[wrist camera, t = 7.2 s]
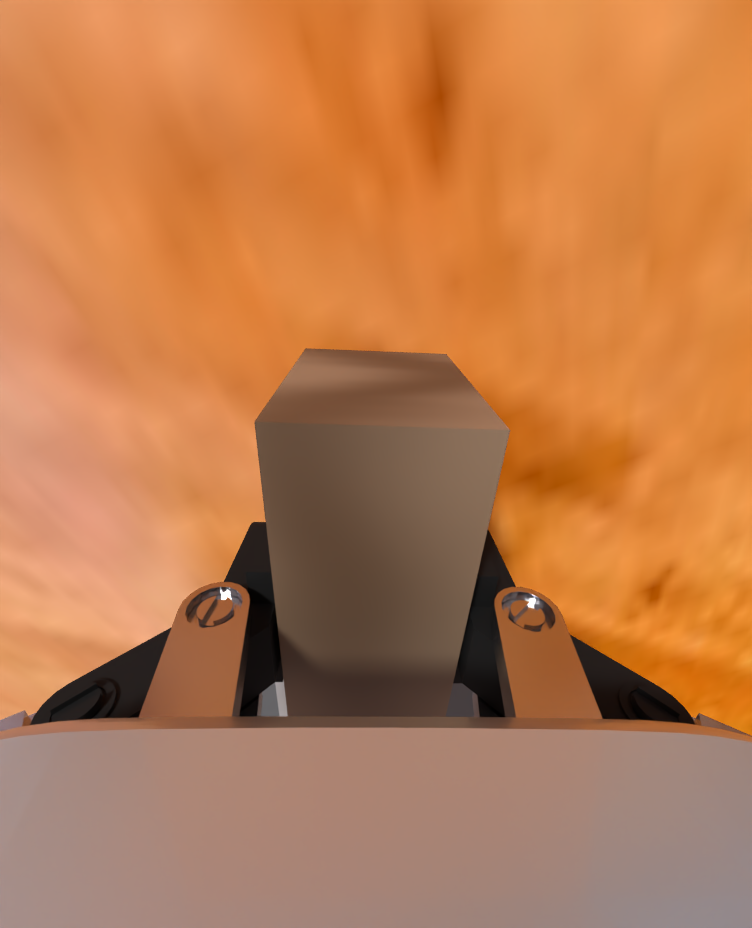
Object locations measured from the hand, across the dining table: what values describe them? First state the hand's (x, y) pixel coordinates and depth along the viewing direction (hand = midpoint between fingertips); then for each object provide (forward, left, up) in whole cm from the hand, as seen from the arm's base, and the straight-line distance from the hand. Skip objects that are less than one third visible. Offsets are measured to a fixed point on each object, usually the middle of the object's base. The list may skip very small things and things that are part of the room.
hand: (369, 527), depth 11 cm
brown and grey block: (0, +3, -1) cm, 4 cm away
